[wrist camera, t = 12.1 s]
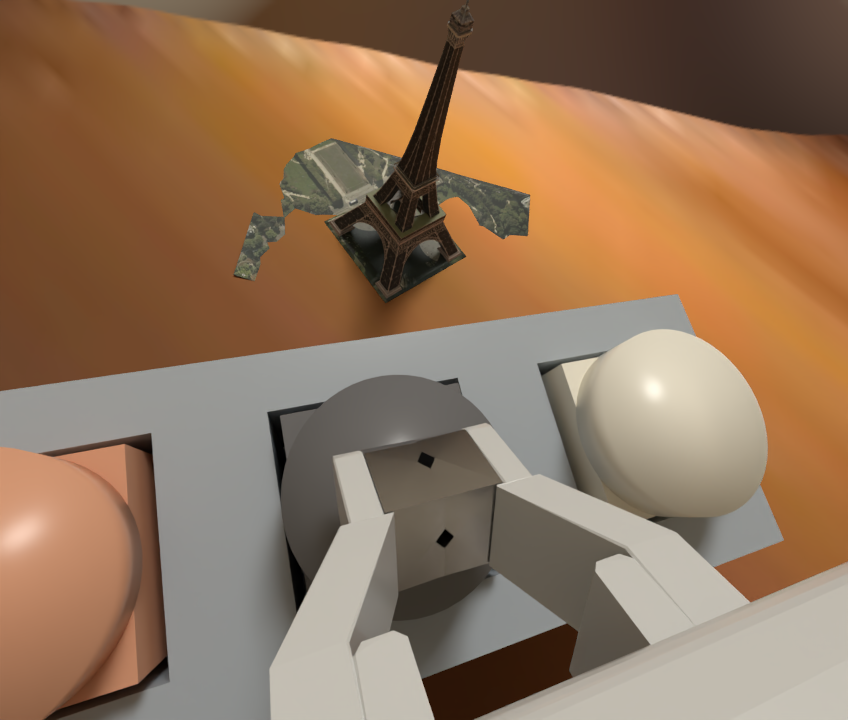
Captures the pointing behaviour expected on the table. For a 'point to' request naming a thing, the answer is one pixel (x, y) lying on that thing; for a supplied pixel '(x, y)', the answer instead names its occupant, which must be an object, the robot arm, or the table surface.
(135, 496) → the button terracotta
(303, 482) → the button charcoal
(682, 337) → the button cream
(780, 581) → the table surface
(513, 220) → the eiffel tower figurine
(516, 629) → the button console
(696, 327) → the table surface
